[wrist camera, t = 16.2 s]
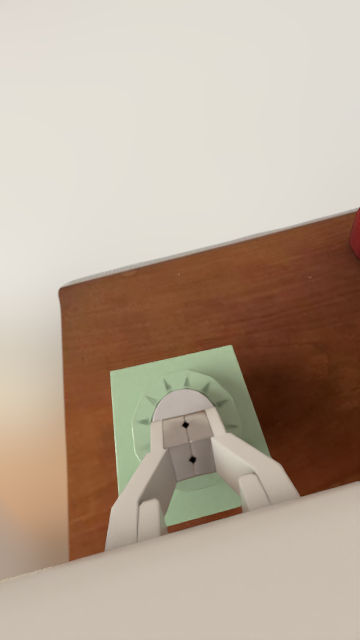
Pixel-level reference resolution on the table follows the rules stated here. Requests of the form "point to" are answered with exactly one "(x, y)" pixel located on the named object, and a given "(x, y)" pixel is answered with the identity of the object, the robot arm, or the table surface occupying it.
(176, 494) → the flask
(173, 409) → the grey cylindrical peg
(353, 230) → the apple
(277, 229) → the table surface
